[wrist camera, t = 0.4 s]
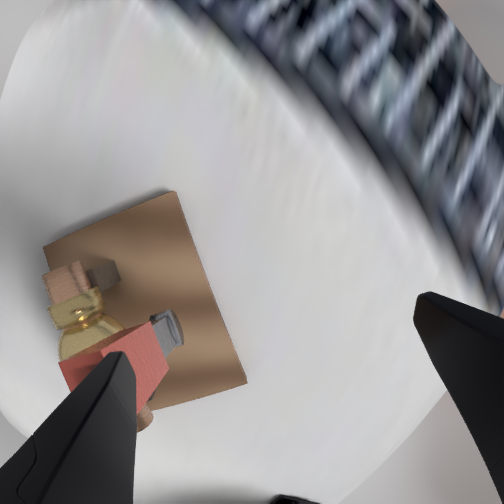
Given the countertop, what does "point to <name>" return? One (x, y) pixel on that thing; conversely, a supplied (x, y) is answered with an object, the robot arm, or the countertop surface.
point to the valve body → (84, 312)
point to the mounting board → (160, 292)
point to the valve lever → (132, 353)
